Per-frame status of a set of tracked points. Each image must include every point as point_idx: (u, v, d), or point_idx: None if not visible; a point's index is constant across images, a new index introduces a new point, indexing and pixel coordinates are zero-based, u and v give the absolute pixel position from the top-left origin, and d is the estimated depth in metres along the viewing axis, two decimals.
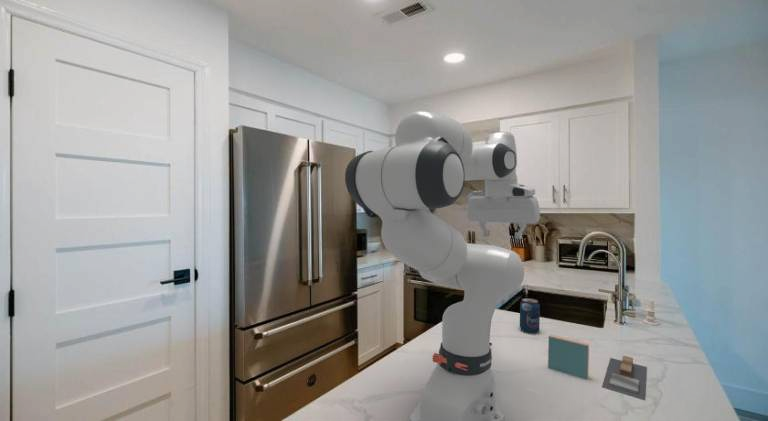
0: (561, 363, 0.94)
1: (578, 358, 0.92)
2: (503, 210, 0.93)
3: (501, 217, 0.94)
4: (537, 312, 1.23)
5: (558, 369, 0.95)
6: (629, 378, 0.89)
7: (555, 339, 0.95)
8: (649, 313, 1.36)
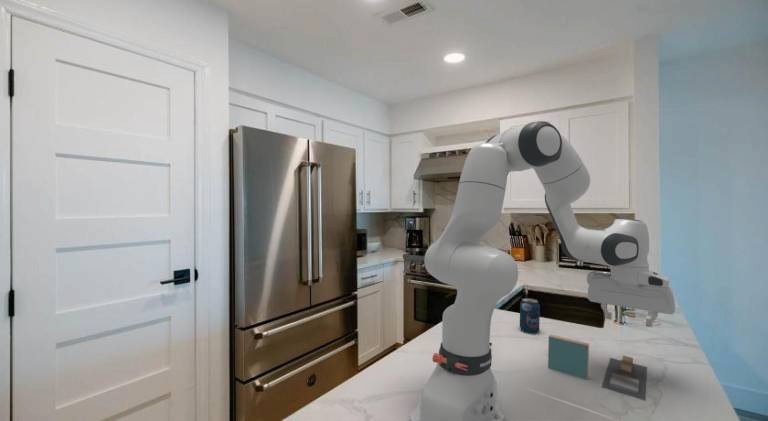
0: (561, 363, 0.94)
1: (578, 358, 0.92)
2: (633, 296, 0.93)
3: (631, 302, 0.93)
4: (537, 312, 1.23)
5: (558, 369, 0.95)
6: (629, 378, 0.89)
7: (555, 339, 0.95)
8: (649, 313, 1.36)
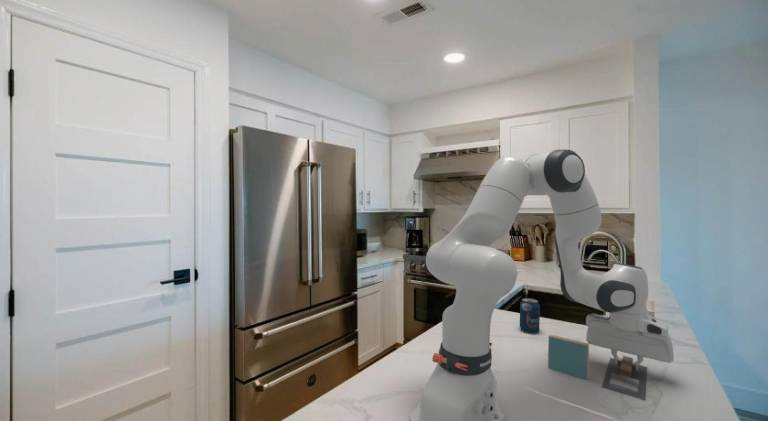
0: (561, 363, 0.94)
1: (578, 358, 0.92)
2: (632, 342, 0.93)
3: (630, 348, 0.93)
4: (537, 312, 1.23)
5: (558, 369, 0.95)
6: (629, 378, 0.89)
7: (555, 339, 0.95)
8: (649, 313, 1.36)
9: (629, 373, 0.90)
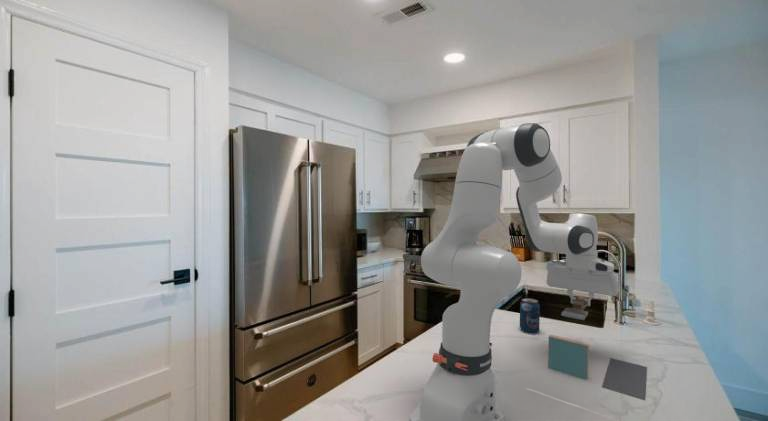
0: (561, 363, 0.94)
1: (578, 358, 0.92)
2: (584, 281, 1.05)
3: (582, 286, 1.06)
4: (537, 312, 1.23)
5: (558, 369, 0.95)
6: (580, 310, 1.02)
7: (555, 339, 0.95)
8: (649, 313, 1.36)
9: (580, 306, 1.02)
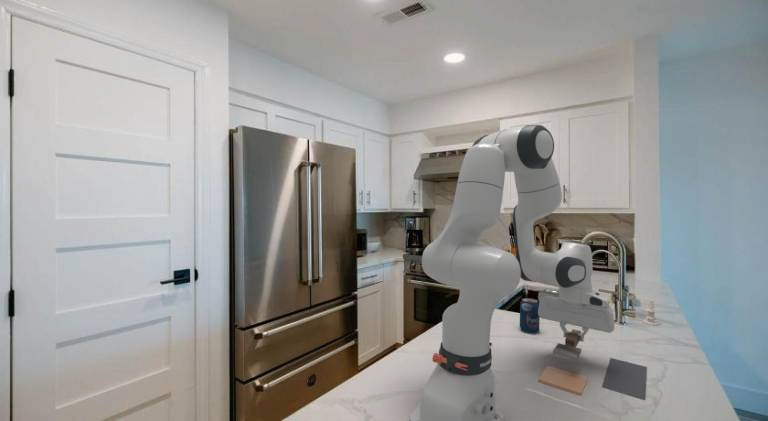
0: None
1: None
2: (577, 315, 0.99)
3: (575, 320, 0.99)
4: (537, 312, 1.23)
5: None
6: (573, 347, 0.95)
7: None
8: (649, 313, 1.36)
9: (573, 342, 0.96)
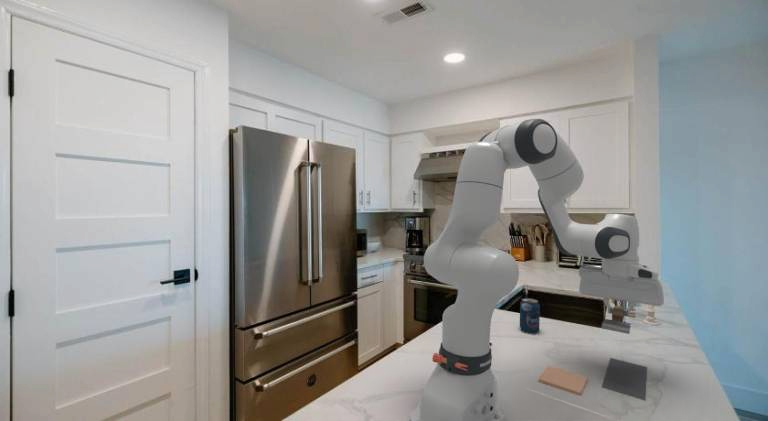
0: None
1: None
2: (623, 289, 0.95)
3: (621, 295, 0.95)
4: (537, 312, 1.23)
5: None
6: (621, 322, 0.91)
7: None
8: (649, 313, 1.36)
9: (621, 317, 0.92)
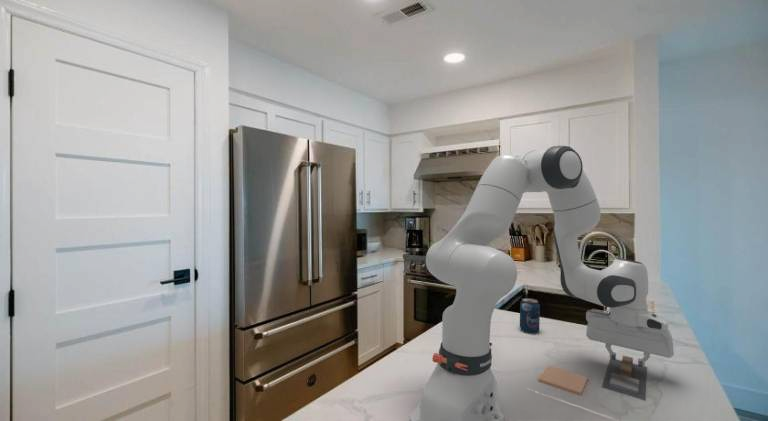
0: None
1: None
2: (632, 337, 0.93)
3: (630, 343, 0.93)
4: (537, 312, 1.23)
5: None
6: (630, 378, 0.89)
7: None
8: None
9: (629, 373, 0.90)
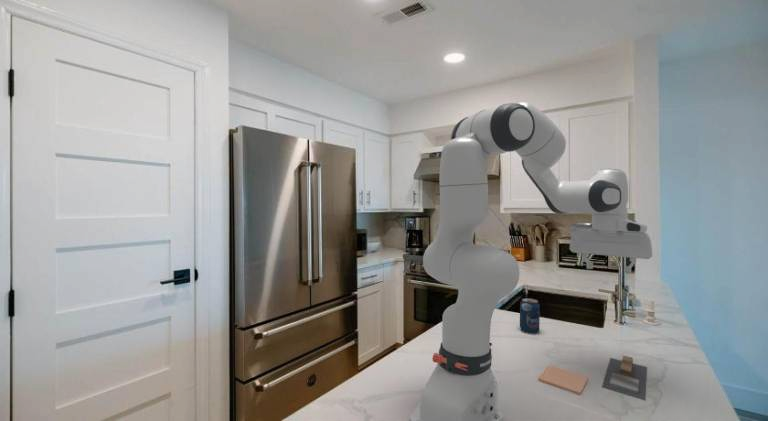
0: None
1: None
2: (612, 244, 0.96)
3: (610, 250, 0.96)
4: (537, 312, 1.23)
5: None
6: (630, 378, 0.89)
7: None
8: (649, 313, 1.36)
9: (629, 373, 0.90)
